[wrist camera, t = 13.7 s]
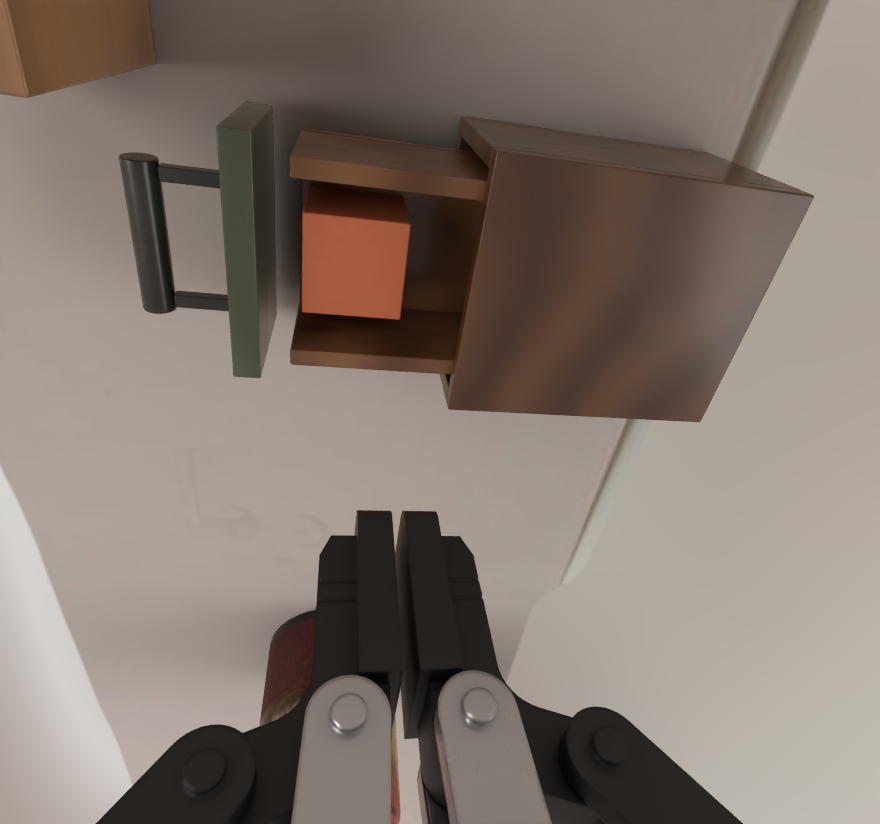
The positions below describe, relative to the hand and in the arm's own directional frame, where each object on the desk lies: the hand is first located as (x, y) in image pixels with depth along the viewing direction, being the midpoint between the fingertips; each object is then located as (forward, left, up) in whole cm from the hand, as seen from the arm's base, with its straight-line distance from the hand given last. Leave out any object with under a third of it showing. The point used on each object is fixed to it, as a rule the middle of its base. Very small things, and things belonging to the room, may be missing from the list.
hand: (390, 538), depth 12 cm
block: (0, -1, -20) cm, 20 cm away
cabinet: (+5, +10, -22) cm, 25 cm away
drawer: (-1, -2, -21) cm, 21 cm away
